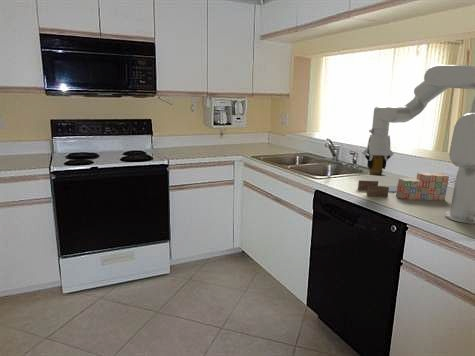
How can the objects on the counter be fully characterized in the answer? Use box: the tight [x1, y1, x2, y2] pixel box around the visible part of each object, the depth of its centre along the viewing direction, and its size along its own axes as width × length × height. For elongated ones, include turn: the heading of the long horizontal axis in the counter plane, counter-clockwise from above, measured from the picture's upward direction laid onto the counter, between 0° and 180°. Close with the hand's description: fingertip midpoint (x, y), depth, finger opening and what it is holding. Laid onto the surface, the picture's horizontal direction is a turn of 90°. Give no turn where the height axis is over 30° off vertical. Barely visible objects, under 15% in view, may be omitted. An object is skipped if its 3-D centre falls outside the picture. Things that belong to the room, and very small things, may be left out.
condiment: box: [367, 156, 387, 177], centre depth 177 cm, size 7×8×12 cm
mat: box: [387, 185, 398, 193], centre depth 189 cm, size 12×12×1 cm
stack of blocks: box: [395, 172, 450, 201], centre depth 173 cm, size 21×6×12 cm, turn 93°
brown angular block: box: [357, 179, 389, 198], centre depth 180 cm, size 13×10×5 cm
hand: (376, 168), depth 177 cm, fingers closed on condiment, 6 cm apart
